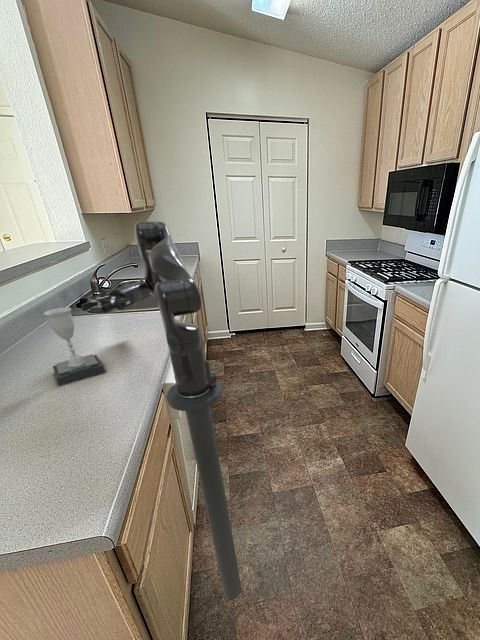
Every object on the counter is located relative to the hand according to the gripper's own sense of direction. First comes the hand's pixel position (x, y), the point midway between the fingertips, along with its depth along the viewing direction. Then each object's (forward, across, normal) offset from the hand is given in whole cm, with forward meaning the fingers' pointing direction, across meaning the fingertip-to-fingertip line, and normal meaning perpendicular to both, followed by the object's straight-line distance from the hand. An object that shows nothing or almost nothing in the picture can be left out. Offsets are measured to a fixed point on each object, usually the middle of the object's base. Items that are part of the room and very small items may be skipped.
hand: (92, 309), depth 113 cm
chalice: (+12, 0, +15) cm, 19 cm away
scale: (+12, +1, +18) cm, 22 cm away
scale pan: (+12, 0, +16) cm, 20 cm away
